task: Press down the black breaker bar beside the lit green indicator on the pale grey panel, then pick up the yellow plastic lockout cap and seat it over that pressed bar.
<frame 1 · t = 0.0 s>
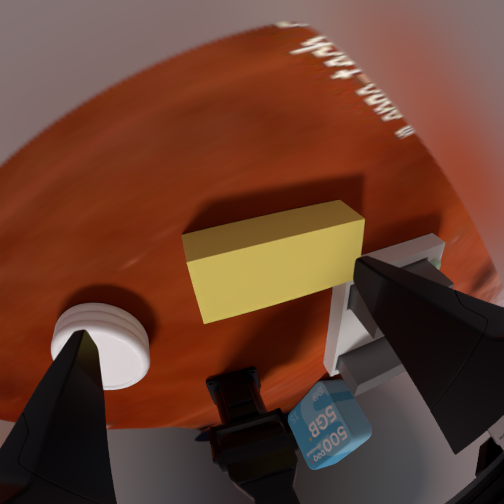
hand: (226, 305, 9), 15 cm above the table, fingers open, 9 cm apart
data package: (311, 396, 46), on the table
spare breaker: (381, 360, 36), point 5 cm above the table, slide at 0.0 cm
tagged breaker: (403, 295, 29), point 5 cm above the table, slide at 0.0 cm
coaster: (101, 335, 27), on the table
lockout cap: (268, 246, 27), on the table
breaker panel: (377, 303, 37), on the table
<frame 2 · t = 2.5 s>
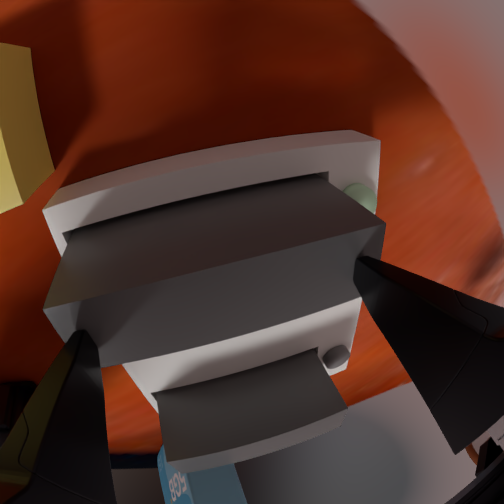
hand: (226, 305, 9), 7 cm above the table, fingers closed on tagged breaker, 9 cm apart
data package: (183, 438, 27), on the table
magnifying glass: (413, 340, 30), on the table
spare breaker: (248, 414, 17), point 5 cm above the table, slide at 0.0 cm
tagged breaker: (211, 258, 11), point 4 cm above the table, slide at 0.6 cm, touching gripper
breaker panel: (235, 296, 18), on the table
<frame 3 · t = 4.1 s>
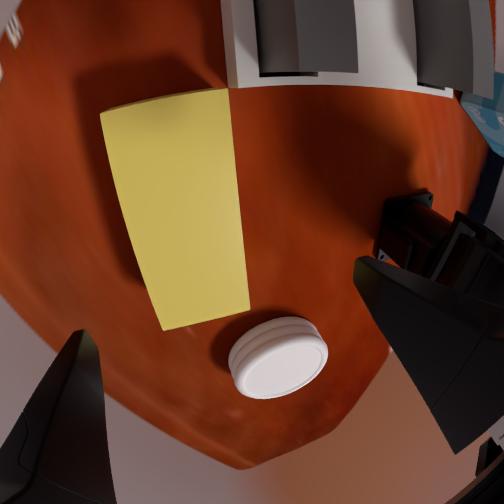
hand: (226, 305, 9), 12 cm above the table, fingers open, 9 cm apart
data package: (481, 112, 23), on the table
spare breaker: (452, 20, 12), point 5 cm above the table, slide at 0.0 cm
coaster: (272, 347, 31), on the table
lockout cap: (179, 202, 19), on the table
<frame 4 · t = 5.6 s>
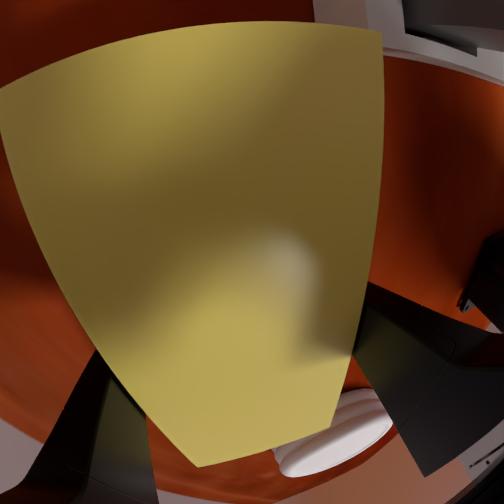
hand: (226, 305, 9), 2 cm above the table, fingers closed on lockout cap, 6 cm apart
coaster: (323, 418, 22), on the table
lockout cap: (215, 274, 10), on the table, touching gripper
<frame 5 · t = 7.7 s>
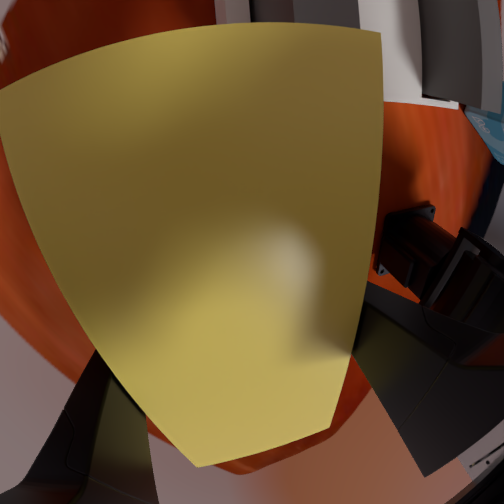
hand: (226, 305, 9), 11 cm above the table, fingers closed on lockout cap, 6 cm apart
data package: (485, 121, 22), on the table
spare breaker: (460, 29, 11), point 5 cm above the table, slide at 0.0 cm
lockout cap: (214, 275, 10), point 9 cm above the table, touching gripper
when the fingers open (6 cm above the table, at t = 10.0 s): lockout cap drops 1 cm, resting on tagged breaker.
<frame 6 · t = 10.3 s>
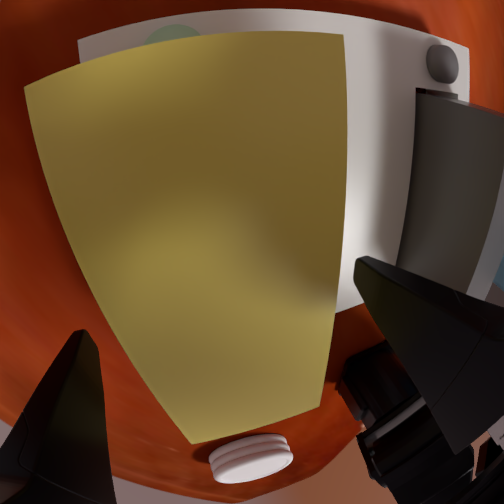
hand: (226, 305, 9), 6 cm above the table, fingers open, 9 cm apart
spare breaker: (459, 214, 12), point 5 cm above the table, slide at 0.0 cm
coaster: (246, 447, 32), on the table
lockout cap: (209, 254, 11), point 3 cm above the table, touching tagged breaker
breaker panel: (314, 172, 14), on the table
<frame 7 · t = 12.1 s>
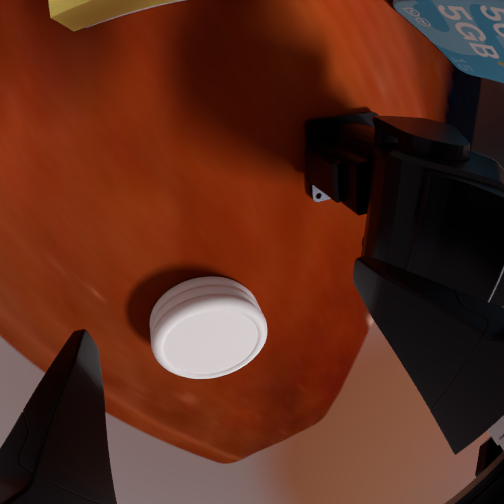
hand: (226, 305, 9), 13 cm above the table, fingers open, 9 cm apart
data package: (431, 23, 17), on the table
coaster: (203, 317, 27), on the table
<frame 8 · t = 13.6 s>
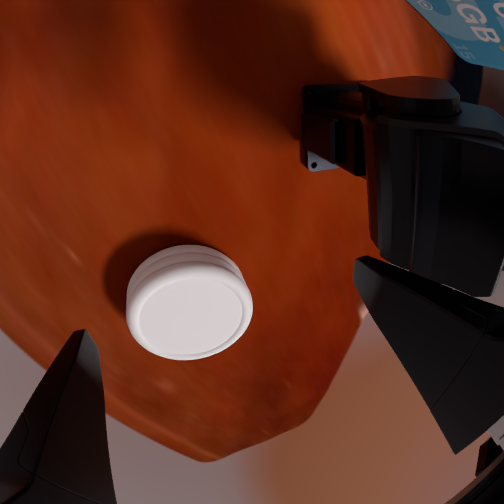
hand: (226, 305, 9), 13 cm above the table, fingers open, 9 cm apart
data package: (434, 10, 16), on the table
coaster: (185, 292, 25), on the table
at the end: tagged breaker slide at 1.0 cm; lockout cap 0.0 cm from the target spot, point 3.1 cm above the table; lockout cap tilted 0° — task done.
